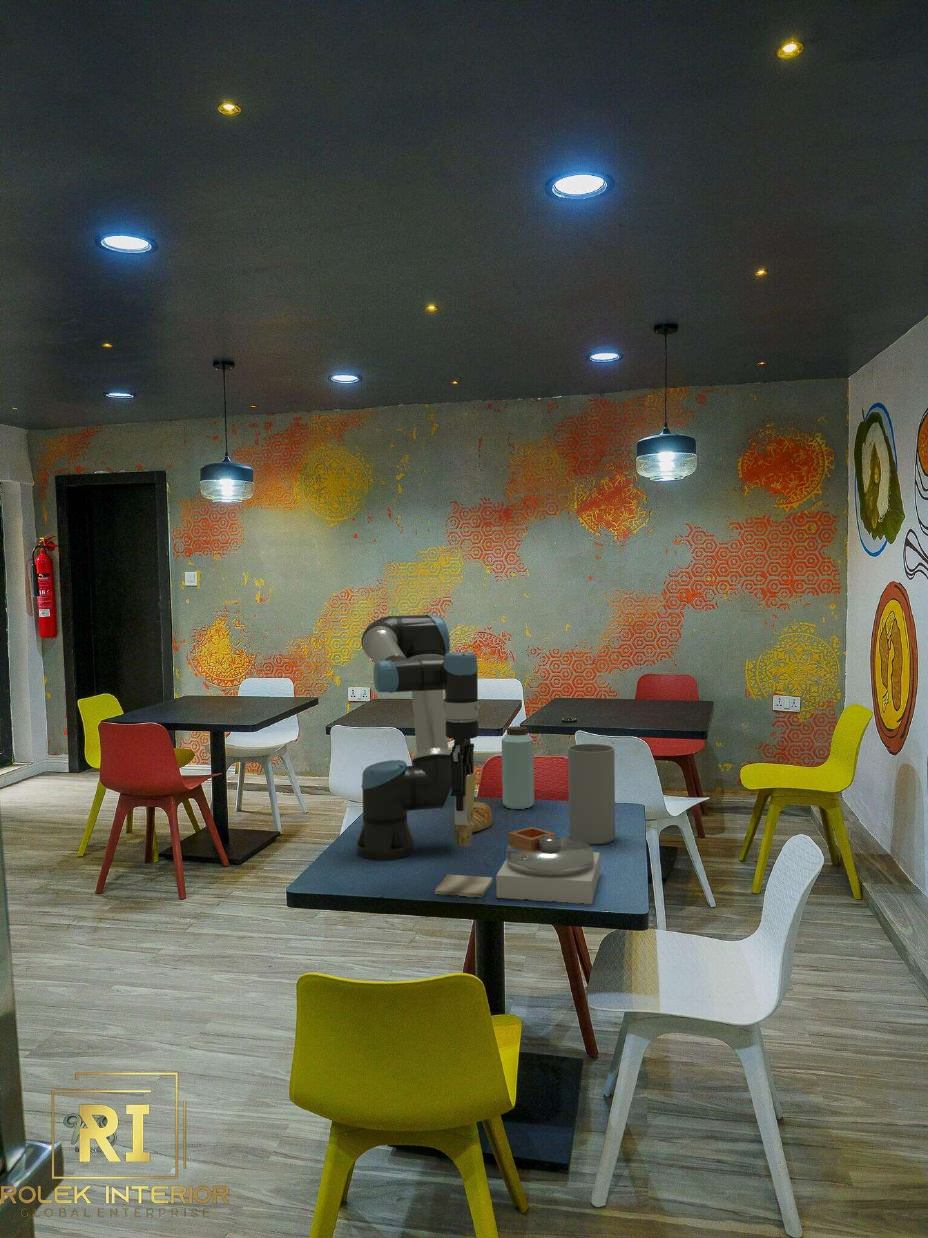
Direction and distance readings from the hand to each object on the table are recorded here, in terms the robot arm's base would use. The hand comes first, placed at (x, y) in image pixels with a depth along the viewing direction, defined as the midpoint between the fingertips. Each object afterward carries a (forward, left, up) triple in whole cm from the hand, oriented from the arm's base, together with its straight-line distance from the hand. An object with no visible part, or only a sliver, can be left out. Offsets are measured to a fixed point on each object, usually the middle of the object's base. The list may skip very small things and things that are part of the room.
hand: (463, 821), depth 195 cm
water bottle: (-1, +76, -16) cm, 78 cm away
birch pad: (0, 0, -15) cm, 15 cm away
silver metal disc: (+19, +6, -10) cm, 22 cm away
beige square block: (+19, +6, -15) cm, 25 cm away
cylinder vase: (+25, +45, -16) cm, 54 cm away
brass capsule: (0, 0, -5) cm, 5 cm away
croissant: (-10, +53, -16) cm, 56 cm away
